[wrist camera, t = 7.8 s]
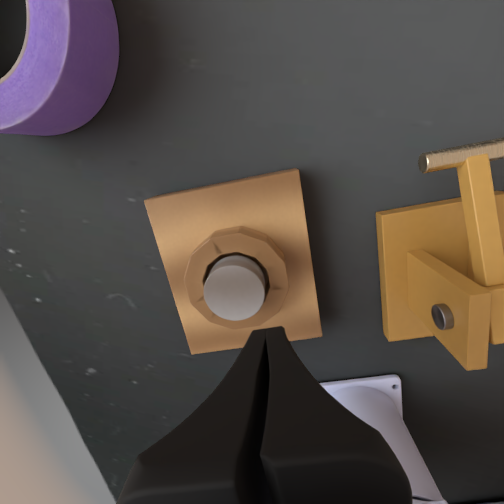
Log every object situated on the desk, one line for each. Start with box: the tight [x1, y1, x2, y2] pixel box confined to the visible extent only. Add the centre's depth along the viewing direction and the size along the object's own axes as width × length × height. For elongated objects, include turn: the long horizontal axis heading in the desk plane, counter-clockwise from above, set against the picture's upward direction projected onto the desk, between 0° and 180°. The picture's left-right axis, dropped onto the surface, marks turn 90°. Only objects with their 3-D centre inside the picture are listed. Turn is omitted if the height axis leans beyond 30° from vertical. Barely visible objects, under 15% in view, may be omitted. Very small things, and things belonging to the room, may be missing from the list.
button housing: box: [144, 168, 322, 354], centre depth 20 cm, size 12×10×4 cm
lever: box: [418, 137, 504, 344], centre depth 16 cm, size 10×5×2 cm, turn 11°
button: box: [204, 255, 265, 321], centre depth 18 cm, size 4×4×2 cm
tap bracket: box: [376, 191, 504, 371], centre depth 18 cm, size 10×8×8 cm
